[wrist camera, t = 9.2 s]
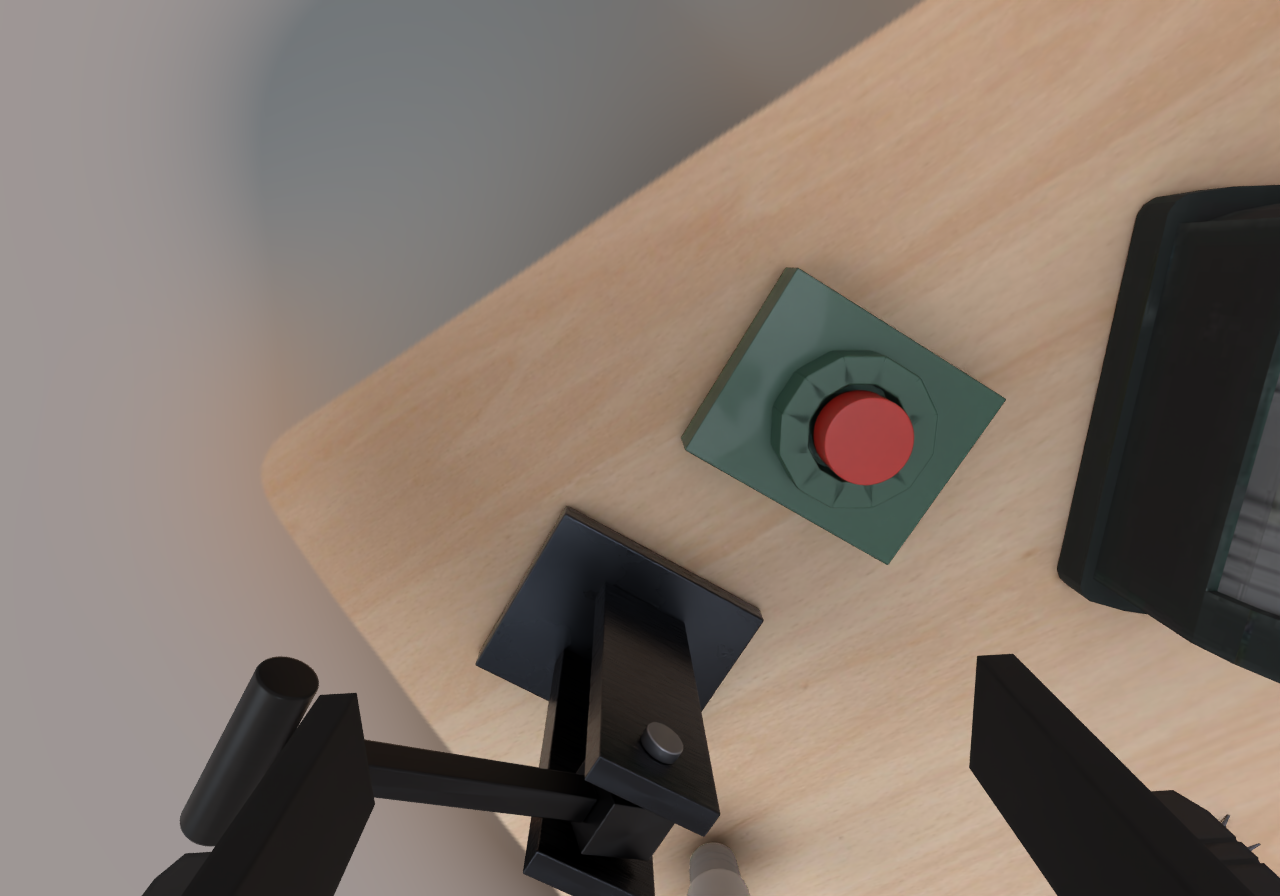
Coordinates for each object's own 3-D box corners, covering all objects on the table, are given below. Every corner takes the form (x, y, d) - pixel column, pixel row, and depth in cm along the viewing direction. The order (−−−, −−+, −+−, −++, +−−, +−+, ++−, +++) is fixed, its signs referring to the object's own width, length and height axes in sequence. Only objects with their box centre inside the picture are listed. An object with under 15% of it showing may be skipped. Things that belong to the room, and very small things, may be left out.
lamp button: (796, 447, 31) (806, 458, 29) (844, 373, 30) (858, 380, 28) (866, 488, 31) (880, 501, 30) (915, 416, 31) (932, 426, 29)
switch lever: (187, 782, 20) (170, 859, 18) (260, 639, 19) (251, 704, 17) (606, 831, 27) (628, 891, 25) (676, 728, 26) (704, 782, 24)
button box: (680, 438, 34) (688, 461, 30) (786, 267, 32) (808, 267, 29) (872, 547, 36) (902, 582, 32) (982, 390, 34) (1029, 407, 30)
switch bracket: (479, 652, 37) (400, 878, 23) (566, 504, 35) (536, 657, 22) (667, 745, 38) (694, 1006, 25) (760, 609, 37) (842, 810, 23)
